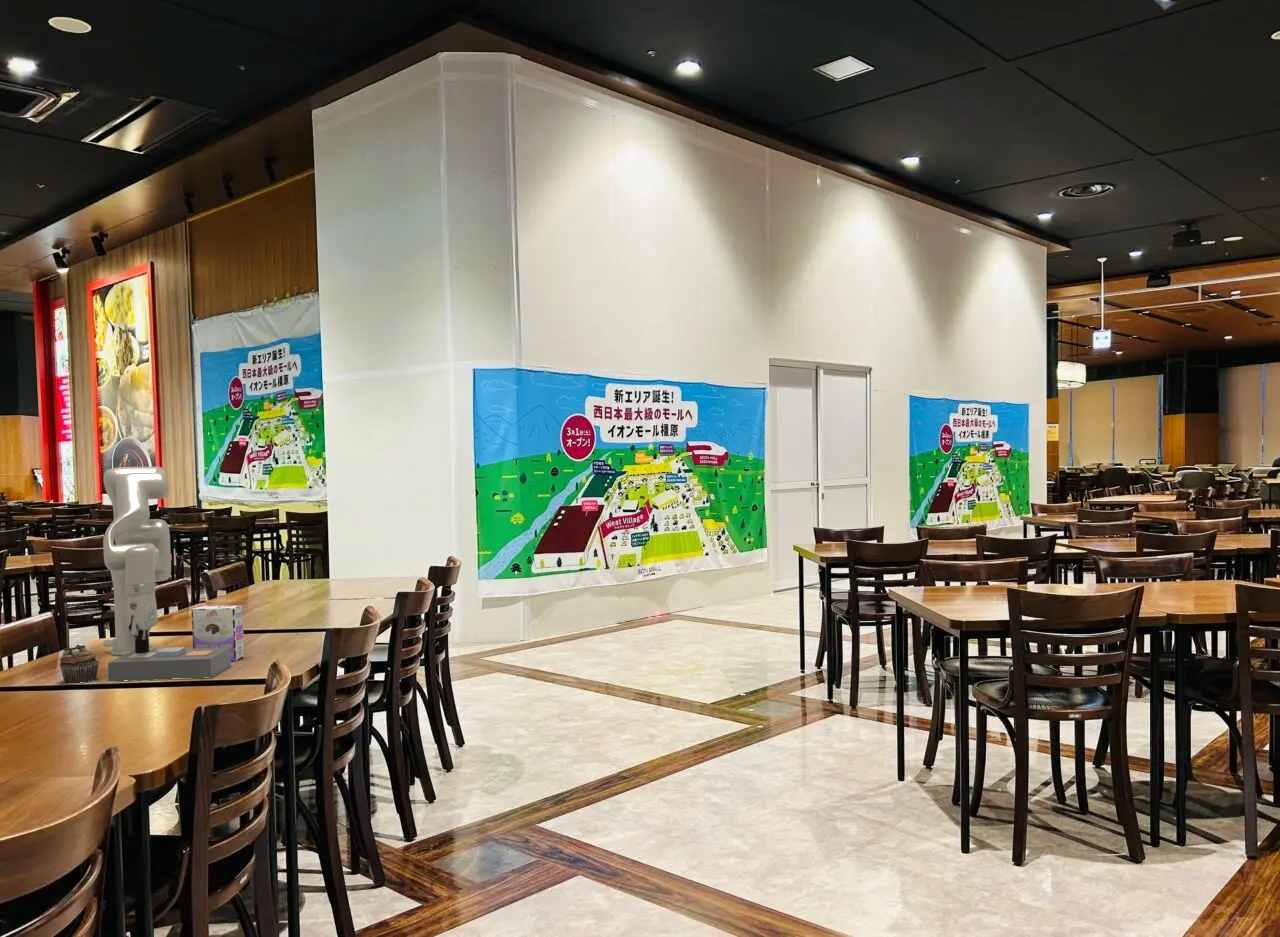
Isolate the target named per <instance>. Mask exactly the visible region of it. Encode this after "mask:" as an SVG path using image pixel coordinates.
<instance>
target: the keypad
mask: <svg viewBox="0 0 1280 937" xmlns="http://www.w3.org/2000/svg"><path fill="white" fill-rule="evenodd" d="M159 650H160V649H154V650H149V652H147V653H156V652H157V651H159ZM192 651H214V652H213V653H211V654H209V655H207V656H185V655H187V654H189V653H190V652H192ZM133 654H136V653H135V651H132V652H129V653H127V654H125V655H120V656H119V657H116V658H114V659H112V660H110V661H108V662H107V678H108V680H107V681H121V682H125V681H124V680H128V681H127V682H132V681H131V680H149V681H155V680H154V679H172V678H204V677H213V676H214V675H216V674H217V675H219V674H221V673H222V672H224V671H225V670H227V669H228V668H230V667H231V666H232V661H231V647H230V648H200V649H193V648H186V653H184V654H182V655H181V656H179V657H156V655H154V656H152V657H150V658H127V657H129V656H131V655H133ZM226 668H227V669H226ZM223 670H224V671H223ZM221 671H222V672H221ZM218 673H219V674H218ZM217 675H216V676H217ZM214 677H215V676H214ZM214 677H213V678H214Z"/></svg>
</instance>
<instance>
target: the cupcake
mask: <svg viewBox="0 0 1280 937" xmlns="http://www.w3.org/2000/svg"><path fill="white" fill-rule="evenodd" d="M96 656H97V655H96V653H94V652H92V651H91V650H90V649H89V648H88V647H86V645H80V644H76V645H75V646H74V647H64V648H63V651H62V656H61V657H60V658H59V662H60V663H59V667H60V672H61V675H62V678H63V682H65V683H80V682H87V683H89V682H88V681H91V682H93V681H92V680H94V681H96V680H97V678H98V671H99V664H100V661H99V660H97V659H96ZM95 679H96V680H95ZM65 683H64V684H65ZM80 684H81V683H80Z"/></svg>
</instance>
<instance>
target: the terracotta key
mask: <svg viewBox="0 0 1280 937" xmlns="http://www.w3.org/2000/svg"><path fill="white" fill-rule="evenodd" d="M213 652H214V651H192V652H190V653H189V654H187V655H185V656H207V655H209V654H211V653H213Z"/></svg>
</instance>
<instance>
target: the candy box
mask: <svg viewBox="0 0 1280 937" xmlns="http://www.w3.org/2000/svg"><path fill="white" fill-rule="evenodd" d="M243 609H244V608H243V605H201V606H196V607H193V608H191V609H190V610H191V627H192V628H191V629H192V631H191V632H192V649H200V648H230V647H231V662H236V661H239V660H241V659H244V658H245V647H244V646H245V644H244V643H245V642H244V619H243V618H244V614H243V611H244V610H243Z"/></svg>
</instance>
